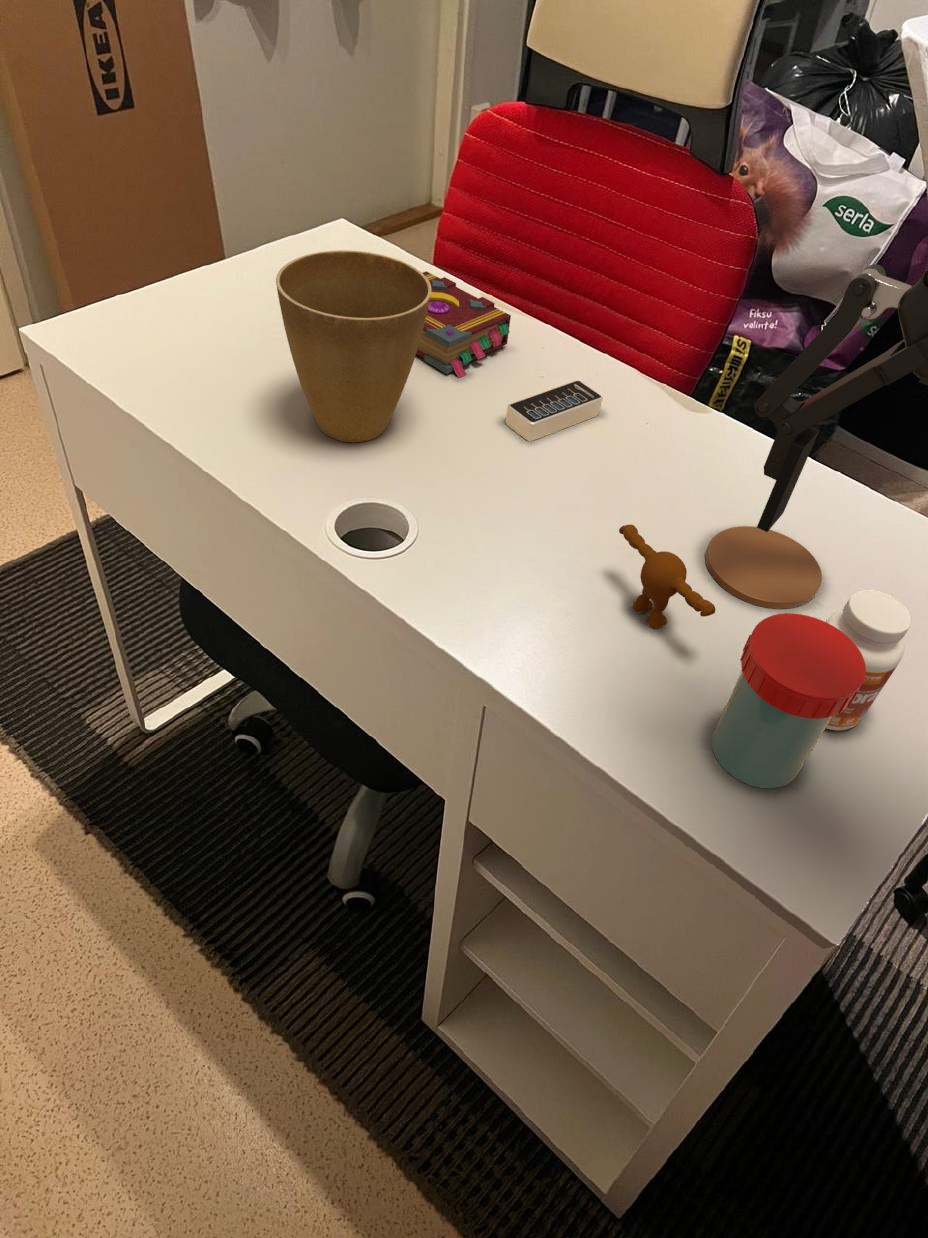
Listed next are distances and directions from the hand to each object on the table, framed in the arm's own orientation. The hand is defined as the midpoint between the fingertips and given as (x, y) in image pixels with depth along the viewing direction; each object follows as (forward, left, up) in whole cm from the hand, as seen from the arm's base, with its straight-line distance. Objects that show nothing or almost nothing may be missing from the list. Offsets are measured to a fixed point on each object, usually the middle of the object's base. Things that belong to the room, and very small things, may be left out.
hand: (857, 561), depth 57 cm
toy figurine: (+16, 0, -20) cm, 26 cm away
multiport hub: (+47, -6, -20) cm, 52 cm away
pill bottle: (+2, -9, -20) cm, 22 cm away
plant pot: (+52, +16, -20) cm, 58 cm away
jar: (0, 0, -20) cm, 20 cm away
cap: (0, 0, -9) cm, 9 cm away
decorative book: (+67, 0, -20) cm, 70 cm away
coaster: (+18, -14, -20) cm, 30 cm away
